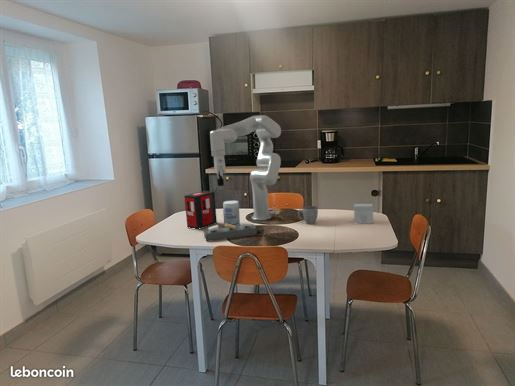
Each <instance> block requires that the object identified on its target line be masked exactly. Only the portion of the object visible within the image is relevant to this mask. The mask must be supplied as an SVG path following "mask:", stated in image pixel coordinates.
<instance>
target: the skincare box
mask: <svg viewBox="0 0 515 386" xmlns="http://www.w3.org/2000/svg"><path fill="white" fill-rule="evenodd" d="M353 209H354V210H353V213H354V214H353V215H354V218H353V219H354V220H353V221H354V224H355V223H358V224H361V223H368V225H369V223H373V224H374V206H373V203H354V205H353Z"/></svg>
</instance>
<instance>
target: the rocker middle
mask: <svg viewBox="0 0 515 386" xmlns="http://www.w3.org/2000/svg"><path fill="white" fill-rule="evenodd" d="M225 226H226V227H229V228H232V229H235V228H236V227H235V226H234V225H231V224H227V223H225ZM225 226H224V227H225ZM226 227H225V228H226Z"/></svg>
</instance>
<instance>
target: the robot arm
mask: <svg viewBox="0 0 515 386" xmlns="http://www.w3.org/2000/svg"><path fill="white" fill-rule="evenodd" d="M253 132H255V133H256V136H257V137H258V138H257V139H258V141H259V150H258V154H257V159H256V166H257V167H259V168H257V169H256V168H255V169H253V170H252V171H251V172H250V175H249V178H250V179H249V180H250V183H251V189H252V204H253V215H252V216H251V219H252V220H253V221H268V220H271V218H272V215H276V214H277V211H276V210H274V211H273V210H269V195H268V193H269V192H268V188H267V186H273V185H275V184H276V182H277V180H278V177H279V172H280V167H281V164H282V163H281V161H282V159H281V156H280V155H279V154H278V153H275V152H273V150H274V144H273V142H272V139H276V138H278V137H280V136H281V134H282V129H281V126H280V124H278V122H276V121H274V120H273V119H272V118H270V117H269V116H267V115H264V114H262V115H252V116H250V117H247V118H245V119H243V120H241V121H237V122H235V123H231V124H228V125H224V126H222V127H219V128H217V129H215V130H211V131H210V132H209V138H210V139H209V140H210V141H209V142H210V151H211V153H210V154H211V157H213V164H214V165H213V166H214V167H213V168H214V172H215V173H216V178H217V179H216V181H217V186H218V187H223V186H224V185H225V184H224V174H226V172H227V170H226V162H225V156H226V145H225V143H229V144H230V143H233V142H234V143H235V142H236V140H237V139H238V137H243V136H247V135H249V134H251V133H253ZM267 219H268V220H267Z"/></svg>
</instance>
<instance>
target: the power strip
mask: <svg viewBox="0 0 515 386" xmlns="http://www.w3.org/2000/svg"><path fill="white" fill-rule="evenodd" d="M235 227H236V228H235V229H232V228H229V227H219V229H216V230H213V231H209V229H205V230H203V236H204V240H205V239H206V240H205V241H206V242H210V241H209V240H214V241H219V240H220V241H221V240H228V239H227V238H229V239H235V238H234V237H236V238H243V237H250V236H257V235H258V233H259V232H264V230H265V229H264V228H259V229H257V227H256V225H254V223H251V226H242V225H239V226H235Z"/></svg>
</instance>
